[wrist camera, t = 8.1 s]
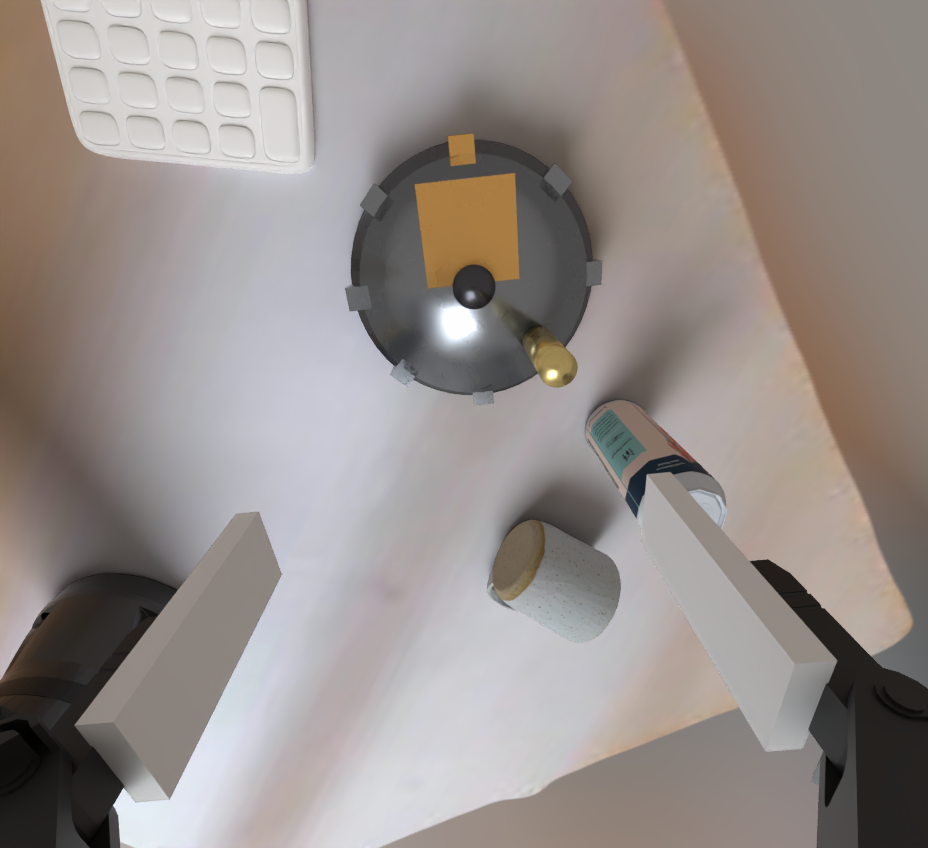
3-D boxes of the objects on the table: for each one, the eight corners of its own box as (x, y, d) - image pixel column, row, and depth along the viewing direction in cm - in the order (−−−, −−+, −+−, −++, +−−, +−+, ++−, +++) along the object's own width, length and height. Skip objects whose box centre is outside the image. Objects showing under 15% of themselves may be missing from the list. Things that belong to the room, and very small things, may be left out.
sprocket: (485, 433, 33) (494, 492, 26) (305, 300, 28) (254, 325, 21) (642, 264, 28) (708, 277, 21) (454, 71, 24) (454, 1, 16)
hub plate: (356, 385, 32) (354, 388, 31) (347, 129, 25) (345, 127, 25) (567, 398, 33) (569, 401, 32) (614, 153, 26) (616, 152, 25)
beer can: (636, 453, 35) (720, 556, 24) (578, 451, 34) (636, 555, 24) (649, 398, 33) (748, 483, 22) (588, 396, 32) (655, 481, 22)
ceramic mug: (530, 496, 36) (547, 562, 29) (605, 536, 38) (637, 606, 31) (464, 576, 40) (465, 651, 33) (535, 608, 42) (550, 685, 35)
